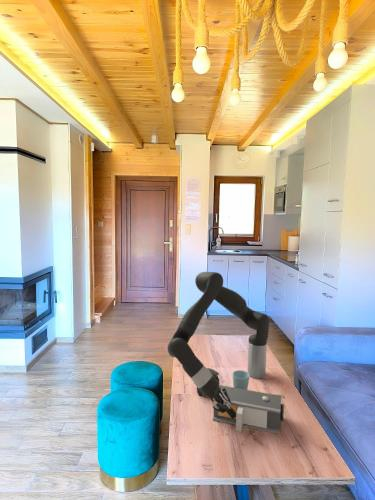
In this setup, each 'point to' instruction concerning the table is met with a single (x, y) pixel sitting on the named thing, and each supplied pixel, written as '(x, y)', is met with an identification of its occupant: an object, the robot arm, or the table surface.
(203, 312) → the robot arm
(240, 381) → the cup
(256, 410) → the side door
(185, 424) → the table surface
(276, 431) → the grey box
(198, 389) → the camera
